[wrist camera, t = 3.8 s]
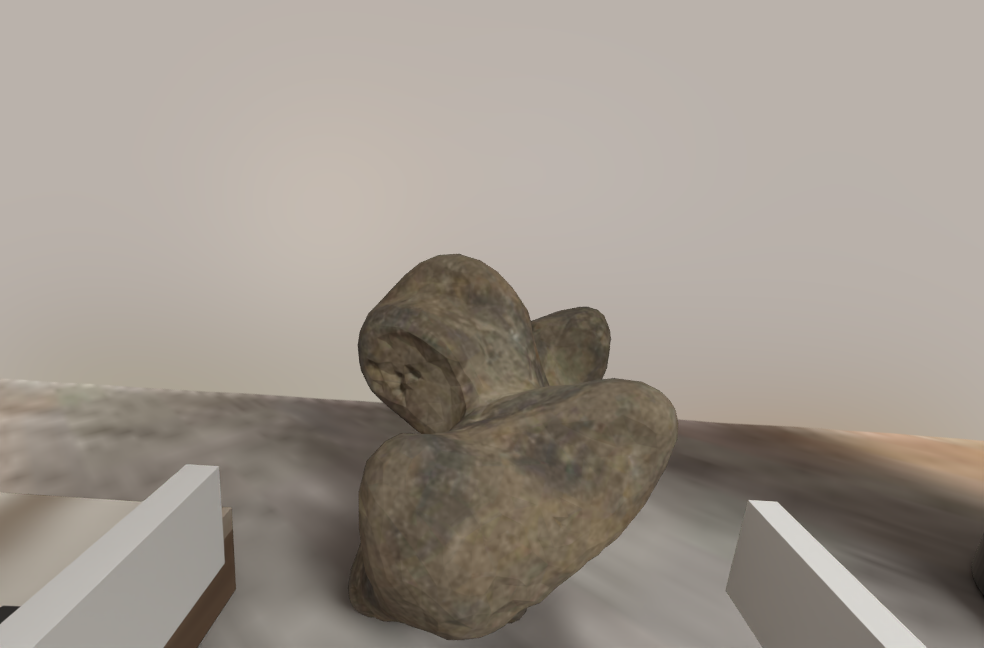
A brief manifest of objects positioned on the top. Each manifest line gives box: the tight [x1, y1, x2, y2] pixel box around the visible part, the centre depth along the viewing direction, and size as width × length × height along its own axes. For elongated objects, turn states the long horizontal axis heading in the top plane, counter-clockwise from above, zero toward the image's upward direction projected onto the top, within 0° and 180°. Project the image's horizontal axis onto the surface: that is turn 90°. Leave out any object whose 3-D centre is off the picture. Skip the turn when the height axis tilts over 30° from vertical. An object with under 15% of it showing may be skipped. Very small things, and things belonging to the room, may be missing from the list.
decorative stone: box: [348, 254, 678, 640], centre depth 19 cm, size 16×11×15 cm
